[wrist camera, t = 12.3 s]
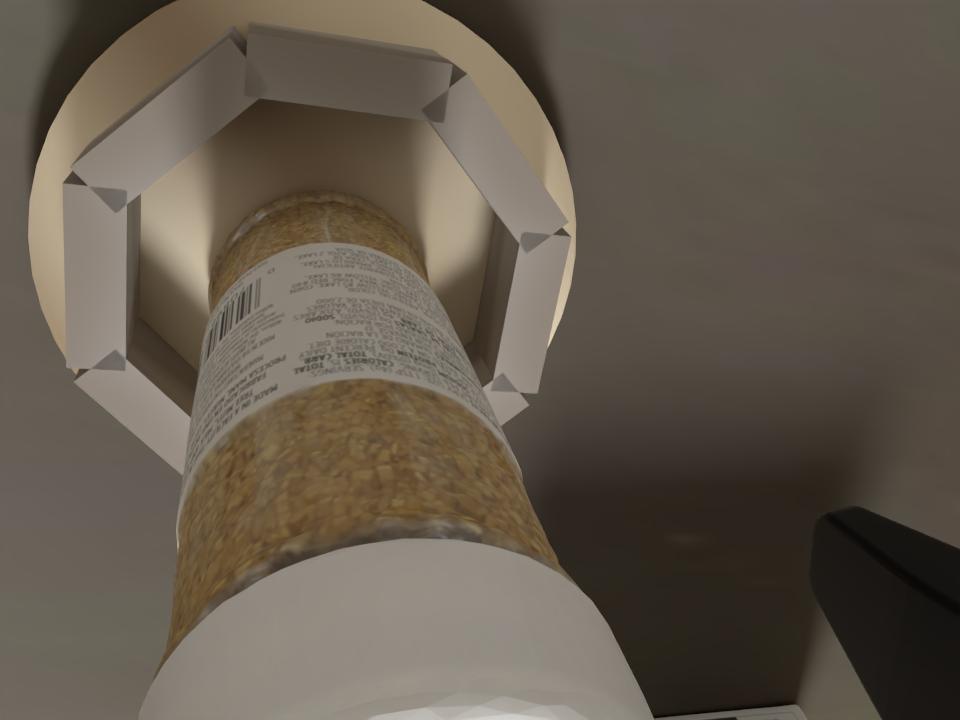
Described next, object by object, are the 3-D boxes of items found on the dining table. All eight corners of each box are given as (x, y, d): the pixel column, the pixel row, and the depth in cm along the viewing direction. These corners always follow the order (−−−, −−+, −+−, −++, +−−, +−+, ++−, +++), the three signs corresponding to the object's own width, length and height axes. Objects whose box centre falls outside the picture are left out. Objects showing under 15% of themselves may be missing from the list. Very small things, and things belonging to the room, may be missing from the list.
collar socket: (289, 542, 22) (291, 625, 20) (-90, 210, 17) (-155, 262, 14) (646, 279, 21) (700, 329, 19) (358, -161, 16) (376, -177, 13)
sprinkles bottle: (328, 423, 20) (423, 1147, 8) (158, 297, 18) (-45, 1024, 6) (472, 280, 19) (807, 850, 7) (312, 132, 17) (423, 595, 5)
